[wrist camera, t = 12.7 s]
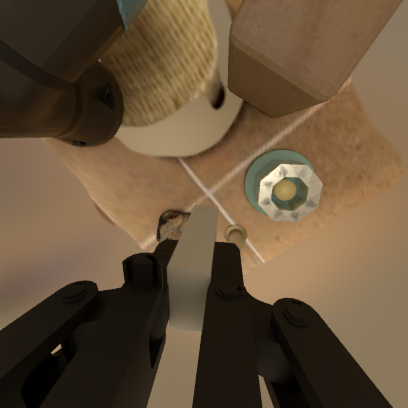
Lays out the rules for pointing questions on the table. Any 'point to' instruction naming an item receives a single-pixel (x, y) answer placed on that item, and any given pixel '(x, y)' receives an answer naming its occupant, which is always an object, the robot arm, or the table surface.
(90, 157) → the table surface
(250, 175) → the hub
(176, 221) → the rock
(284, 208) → the collar ring
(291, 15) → the wooden block
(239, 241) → the stand
